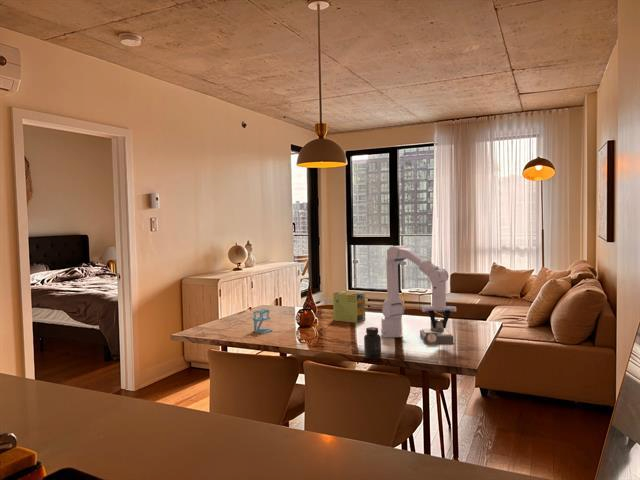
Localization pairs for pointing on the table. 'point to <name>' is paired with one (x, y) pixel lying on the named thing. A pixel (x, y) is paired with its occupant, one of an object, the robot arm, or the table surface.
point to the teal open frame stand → (261, 321)
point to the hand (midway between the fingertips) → (439, 327)
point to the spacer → (439, 325)
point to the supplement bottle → (372, 343)
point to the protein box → (349, 306)
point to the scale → (436, 336)
